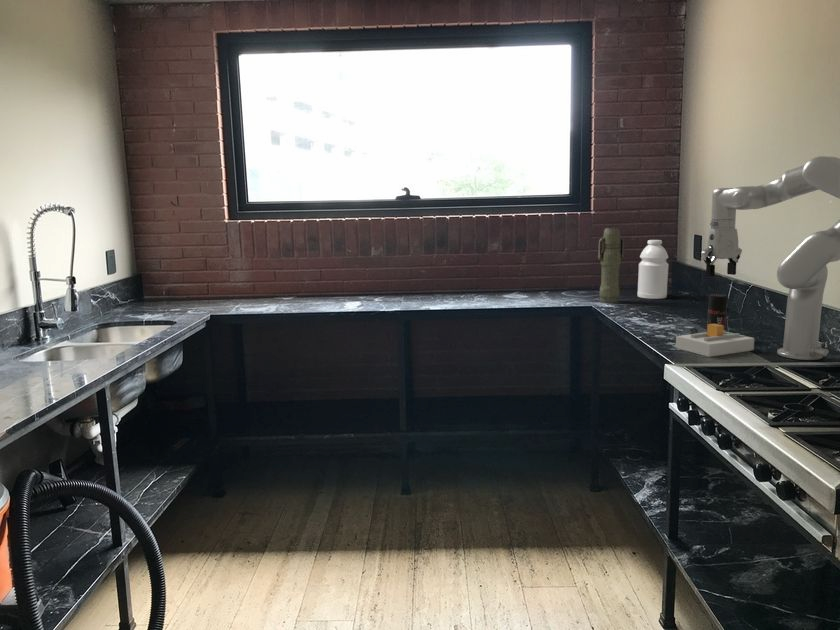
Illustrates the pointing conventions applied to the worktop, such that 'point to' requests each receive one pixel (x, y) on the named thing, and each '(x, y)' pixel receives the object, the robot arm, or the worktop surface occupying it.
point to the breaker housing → (715, 343)
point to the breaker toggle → (715, 330)
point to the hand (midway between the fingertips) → (720, 275)
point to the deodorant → (717, 309)
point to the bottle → (653, 271)
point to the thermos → (610, 264)
